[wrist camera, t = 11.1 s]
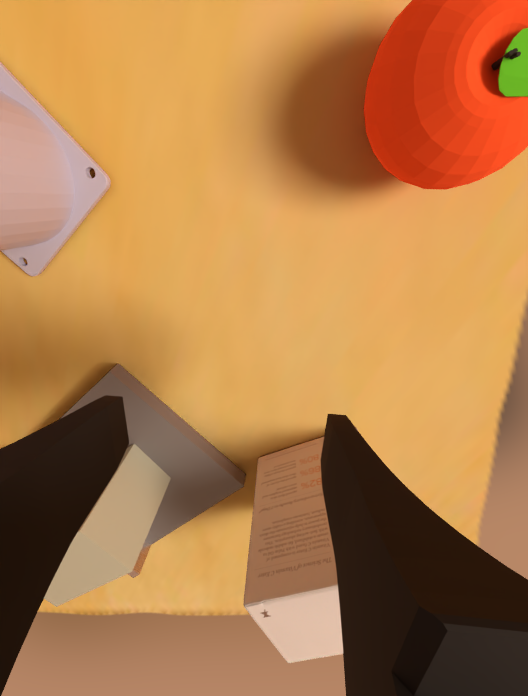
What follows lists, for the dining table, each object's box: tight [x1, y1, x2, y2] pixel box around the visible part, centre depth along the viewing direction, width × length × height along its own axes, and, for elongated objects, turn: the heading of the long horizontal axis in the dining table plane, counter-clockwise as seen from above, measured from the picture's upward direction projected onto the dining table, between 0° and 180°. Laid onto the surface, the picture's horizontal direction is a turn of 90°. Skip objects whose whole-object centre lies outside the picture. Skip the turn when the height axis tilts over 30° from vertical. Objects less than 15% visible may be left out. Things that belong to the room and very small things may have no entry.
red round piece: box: [364, 0, 528, 189], centre depth 13 cm, size 8×7×7 cm
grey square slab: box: [60, 364, 246, 578], centre depth 25 cm, size 13×12×4 cm
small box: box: [244, 427, 358, 663], centre depth 21 cm, size 8×6×10 cm
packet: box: [44, 444, 171, 607], centre depth 23 cm, size 4×7×7 cm, turn 126°
